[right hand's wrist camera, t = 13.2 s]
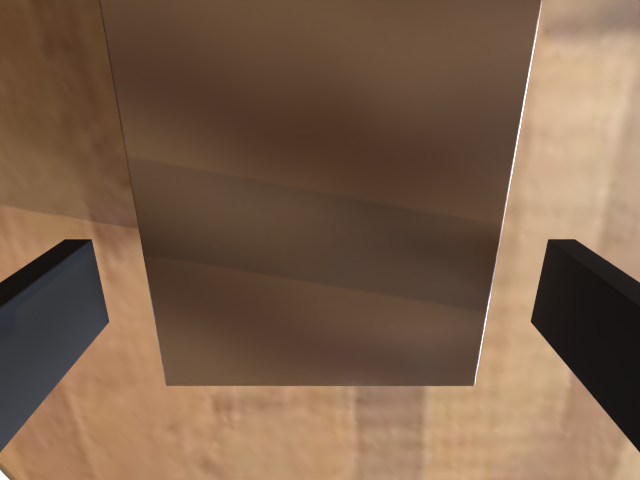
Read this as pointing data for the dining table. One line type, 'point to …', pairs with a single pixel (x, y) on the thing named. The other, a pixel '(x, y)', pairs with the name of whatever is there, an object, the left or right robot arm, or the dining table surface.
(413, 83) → the cabinet
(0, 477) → the hard drive box
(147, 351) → the dining table surface
